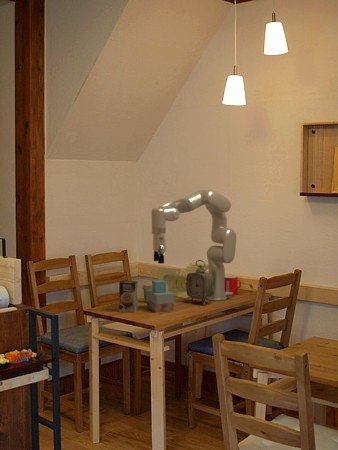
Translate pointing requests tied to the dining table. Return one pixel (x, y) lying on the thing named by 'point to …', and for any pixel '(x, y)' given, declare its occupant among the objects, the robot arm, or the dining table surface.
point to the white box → (160, 297)
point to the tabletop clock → (200, 284)
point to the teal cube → (159, 286)
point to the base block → (160, 307)
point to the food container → (145, 291)
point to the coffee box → (128, 296)
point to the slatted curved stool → (178, 278)
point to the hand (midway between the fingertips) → (158, 262)
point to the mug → (232, 284)
